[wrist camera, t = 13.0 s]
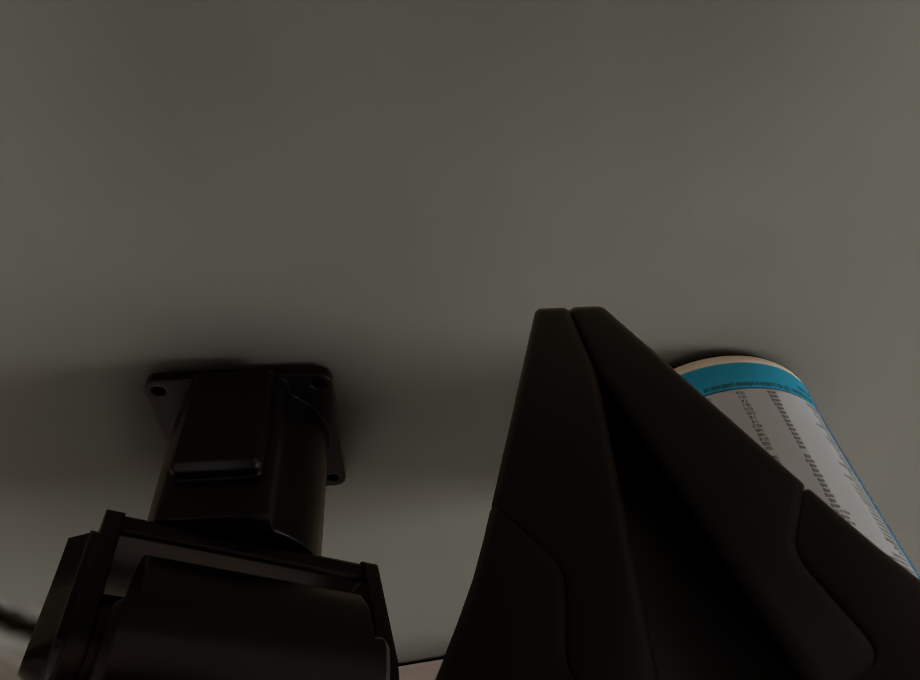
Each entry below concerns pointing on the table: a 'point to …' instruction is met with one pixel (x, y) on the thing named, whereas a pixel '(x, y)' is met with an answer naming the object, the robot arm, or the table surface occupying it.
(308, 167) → the table surface
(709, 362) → the beverage bottle
